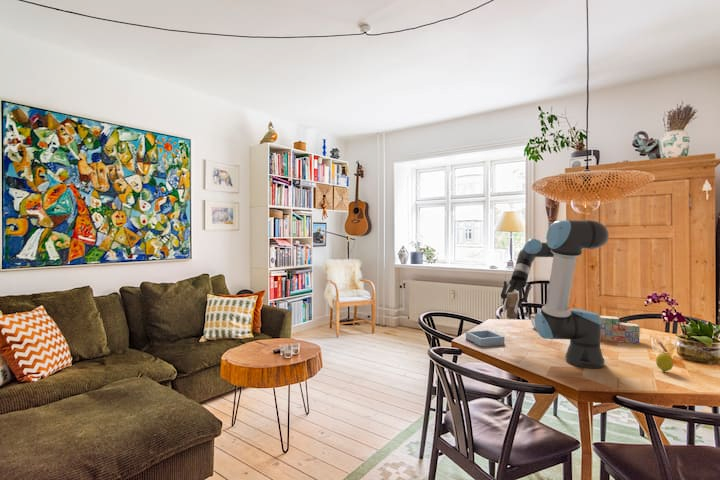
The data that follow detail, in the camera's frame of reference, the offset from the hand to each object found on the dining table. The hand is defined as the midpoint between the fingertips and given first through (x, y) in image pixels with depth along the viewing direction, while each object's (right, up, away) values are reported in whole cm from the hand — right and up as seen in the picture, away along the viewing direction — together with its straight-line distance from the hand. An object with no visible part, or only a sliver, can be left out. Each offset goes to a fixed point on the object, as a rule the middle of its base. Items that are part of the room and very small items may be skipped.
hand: (509, 311), depth 188 cm
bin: (-8, -19, +14) cm, 25 cm away
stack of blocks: (+64, -19, +19) cm, 69 cm away
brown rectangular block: (+2, -4, +3) cm, 5 cm away
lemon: (+54, -20, -28) cm, 64 cm away
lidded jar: (+35, -19, +42) cm, 58 cm away
